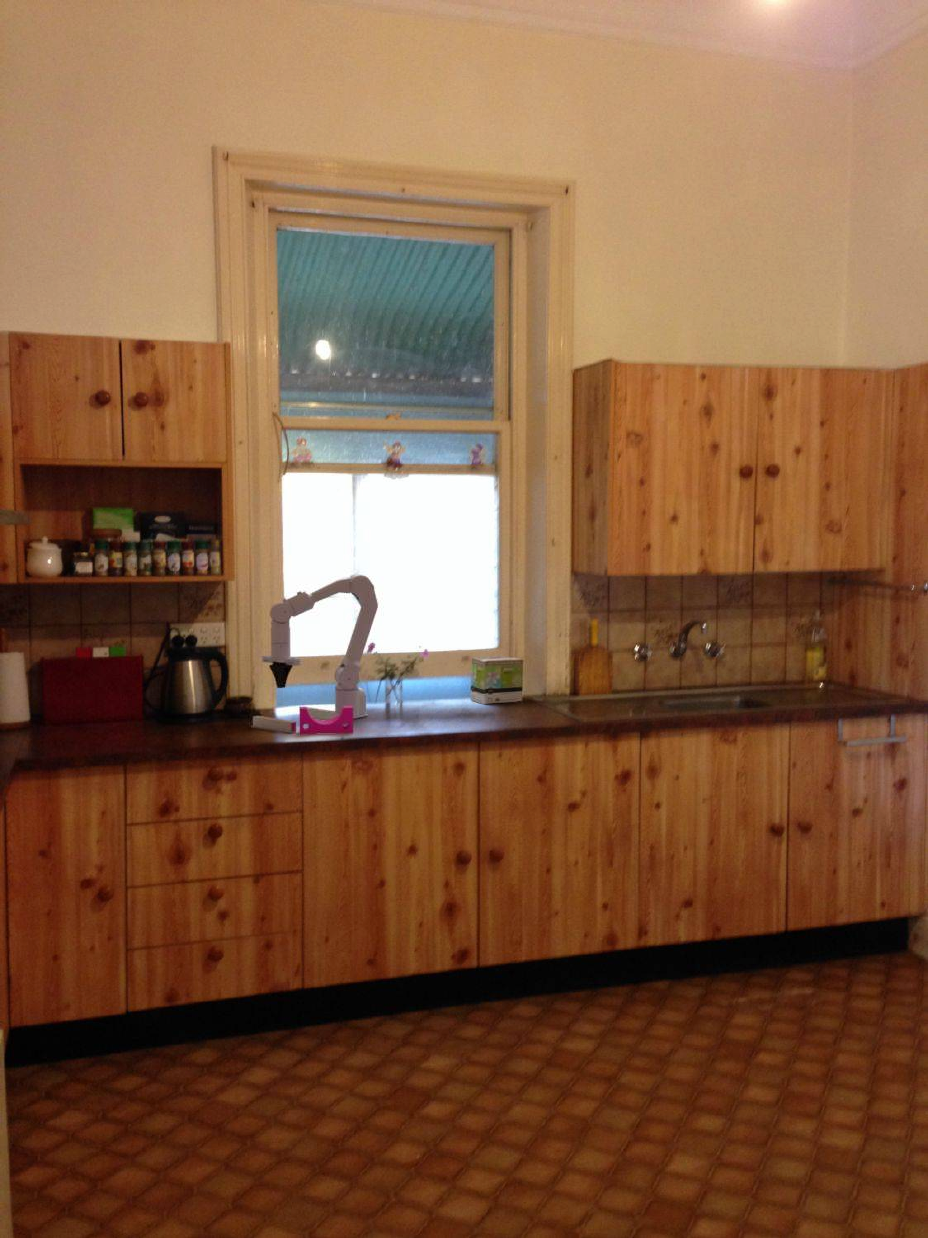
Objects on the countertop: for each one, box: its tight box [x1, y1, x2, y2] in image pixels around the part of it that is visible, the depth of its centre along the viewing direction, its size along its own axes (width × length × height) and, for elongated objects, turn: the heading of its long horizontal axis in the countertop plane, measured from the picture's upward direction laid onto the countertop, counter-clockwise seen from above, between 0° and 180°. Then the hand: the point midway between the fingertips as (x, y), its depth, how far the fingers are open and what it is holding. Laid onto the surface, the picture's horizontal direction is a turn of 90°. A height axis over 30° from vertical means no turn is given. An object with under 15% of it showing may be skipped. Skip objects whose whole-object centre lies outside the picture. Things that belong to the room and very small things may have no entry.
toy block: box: [299, 706, 354, 735], centre depth 310 cm, size 15×6×8 cm, turn 100°
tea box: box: [470, 656, 524, 705], centre depth 366 cm, size 15×10×15 cm, turn 119°
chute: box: [250, 706, 341, 734], centre depth 321 cm, size 24×16×3 cm
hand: (281, 687), depth 328 cm, fingers closed
